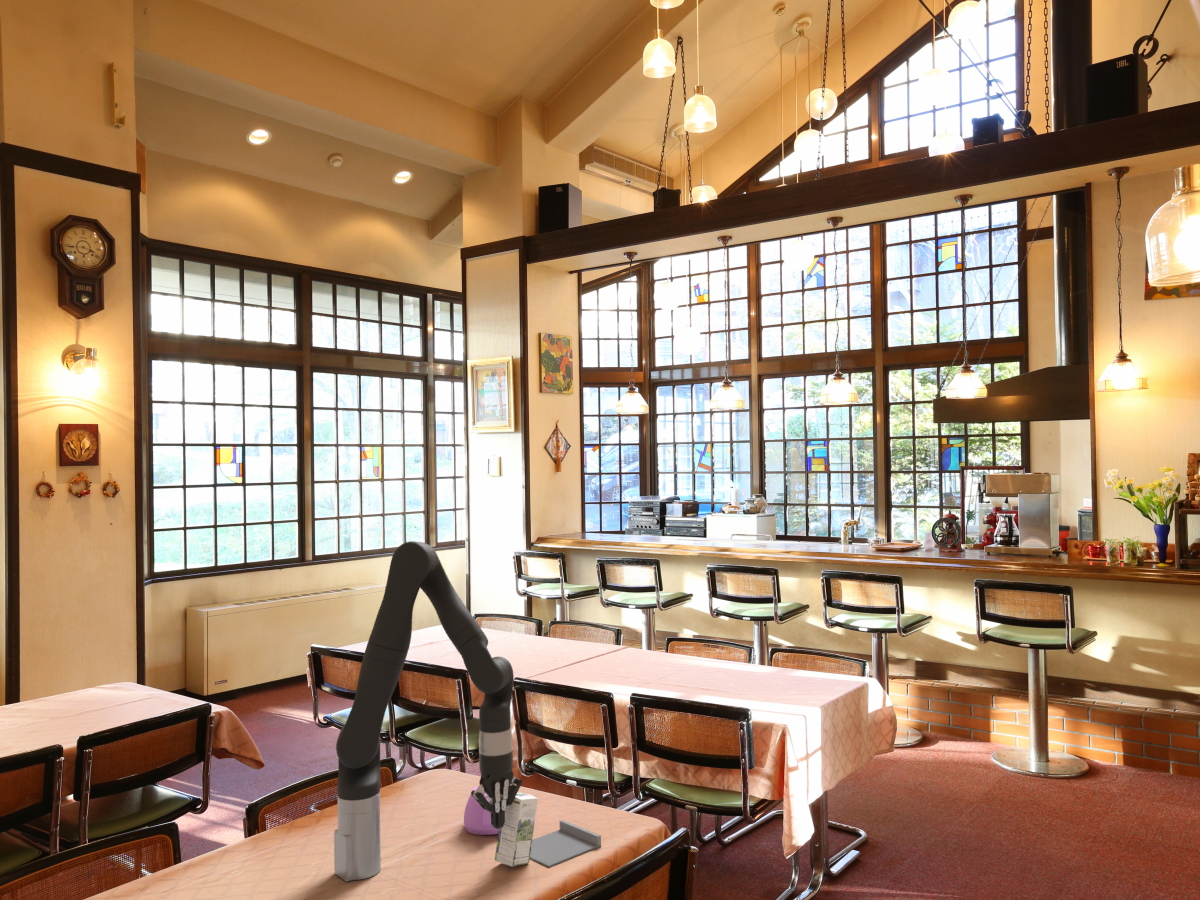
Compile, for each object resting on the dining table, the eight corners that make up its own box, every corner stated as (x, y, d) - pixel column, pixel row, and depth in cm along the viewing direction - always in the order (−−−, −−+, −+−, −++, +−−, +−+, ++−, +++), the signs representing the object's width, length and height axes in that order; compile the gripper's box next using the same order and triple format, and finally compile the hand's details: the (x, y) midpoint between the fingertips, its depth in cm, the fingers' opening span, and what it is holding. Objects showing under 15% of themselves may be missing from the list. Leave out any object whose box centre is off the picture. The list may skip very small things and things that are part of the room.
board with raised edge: (548, 867, 193) (548, 856, 193) (511, 849, 203) (510, 838, 203) (601, 846, 203) (600, 835, 204) (562, 830, 214) (562, 819, 214)
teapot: (520, 811, 227) (520, 768, 228) (513, 842, 207) (513, 795, 208) (470, 812, 227) (469, 769, 228) (458, 843, 207) (457, 796, 208)
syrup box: (511, 857, 198) (519, 791, 201) (530, 864, 195) (538, 796, 198) (494, 861, 194) (502, 793, 197) (512, 867, 190) (521, 798, 193)
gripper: (481, 759, 186) (483, 841, 185) (529, 745, 195) (531, 823, 194) (461, 752, 191) (463, 831, 190) (509, 738, 200) (511, 814, 199)
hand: (498, 827), depth 192 cm, fingers closed
